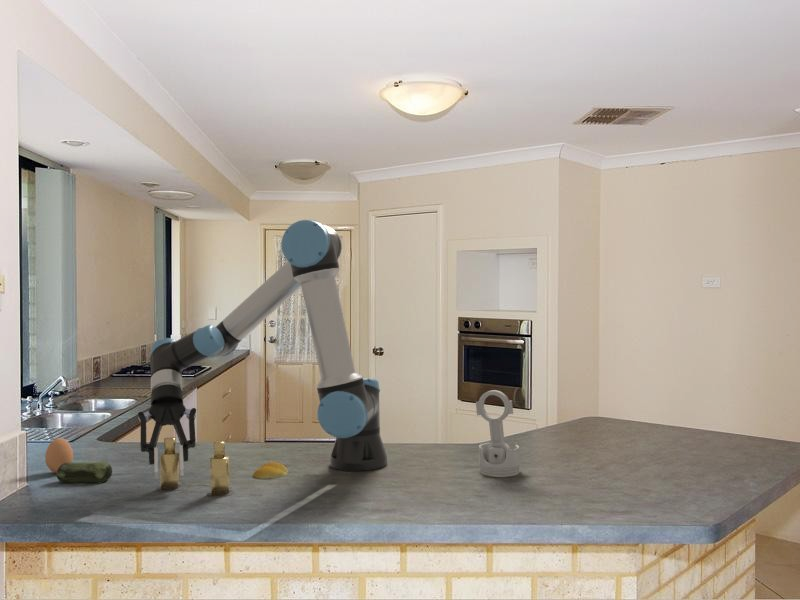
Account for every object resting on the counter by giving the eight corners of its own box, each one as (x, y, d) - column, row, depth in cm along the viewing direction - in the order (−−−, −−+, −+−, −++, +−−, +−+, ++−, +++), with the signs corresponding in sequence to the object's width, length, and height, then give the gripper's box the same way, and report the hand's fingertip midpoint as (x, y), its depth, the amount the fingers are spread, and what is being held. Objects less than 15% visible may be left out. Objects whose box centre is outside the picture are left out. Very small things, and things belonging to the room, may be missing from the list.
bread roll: (248, 484, 166) (248, 468, 166) (262, 475, 175) (261, 459, 175) (280, 485, 165) (280, 469, 165) (293, 475, 174) (292, 460, 174)
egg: (62, 476, 177) (61, 441, 177) (39, 475, 178) (39, 440, 178) (79, 469, 184) (78, 435, 184) (57, 469, 185) (56, 435, 185)
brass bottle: (182, 486, 160) (182, 437, 160) (170, 491, 156) (171, 440, 156) (168, 485, 161) (168, 436, 162) (156, 489, 158) (156, 439, 158)
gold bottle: (233, 491, 155) (232, 440, 155) (222, 496, 151) (221, 444, 151) (218, 490, 156) (217, 439, 156) (207, 495, 153) (206, 443, 153)
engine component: (513, 478, 166) (523, 468, 176) (511, 394, 166) (522, 388, 175) (470, 474, 171) (483, 465, 180) (469, 392, 171) (481, 387, 180)
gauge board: (254, 493, 158) (254, 487, 158) (223, 509, 147) (223, 502, 146) (169, 485, 166) (169, 480, 166) (133, 499, 155) (133, 493, 155)
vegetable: (116, 478, 174) (115, 459, 174) (107, 484, 169) (106, 464, 169) (61, 479, 175) (61, 460, 175) (51, 485, 169) (50, 465, 169)
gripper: (203, 399, 176) (209, 478, 161) (129, 404, 170) (127, 487, 155) (204, 380, 171) (210, 461, 156) (127, 385, 165) (126, 469, 150)
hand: (169, 473), depth 155 cm, fingers open, 5 cm apart
